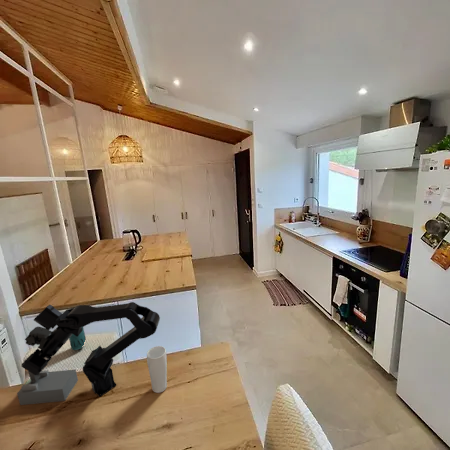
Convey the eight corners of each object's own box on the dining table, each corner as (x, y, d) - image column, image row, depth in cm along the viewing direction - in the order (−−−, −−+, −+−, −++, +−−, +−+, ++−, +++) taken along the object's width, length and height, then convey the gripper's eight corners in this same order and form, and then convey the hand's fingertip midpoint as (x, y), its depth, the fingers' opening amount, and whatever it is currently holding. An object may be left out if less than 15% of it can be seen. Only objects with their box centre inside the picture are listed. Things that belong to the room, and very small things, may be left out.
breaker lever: (42, 377, 93) (36, 358, 92) (36, 384, 90) (30, 365, 89) (35, 378, 93) (30, 359, 92) (29, 385, 90) (23, 366, 89)
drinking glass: (172, 385, 93) (169, 349, 90) (159, 398, 88) (155, 361, 85) (160, 377, 97) (156, 343, 94) (146, 390, 91) (142, 354, 88)
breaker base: (78, 380, 98) (75, 366, 97) (65, 400, 89) (61, 385, 88) (37, 384, 97) (33, 369, 96) (20, 405, 88) (16, 389, 87)
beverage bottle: (69, 354, 113) (61, 314, 108) (73, 345, 119) (65, 307, 115) (85, 351, 114) (77, 311, 110) (88, 342, 121) (81, 304, 116)
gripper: (57, 308, 96) (33, 335, 98) (21, 339, 78) (-8, 372, 80) (81, 324, 98) (57, 351, 100) (52, 359, 80) (23, 391, 82)
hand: (34, 364), depth 90 cm, fingers closed, pressing on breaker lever
